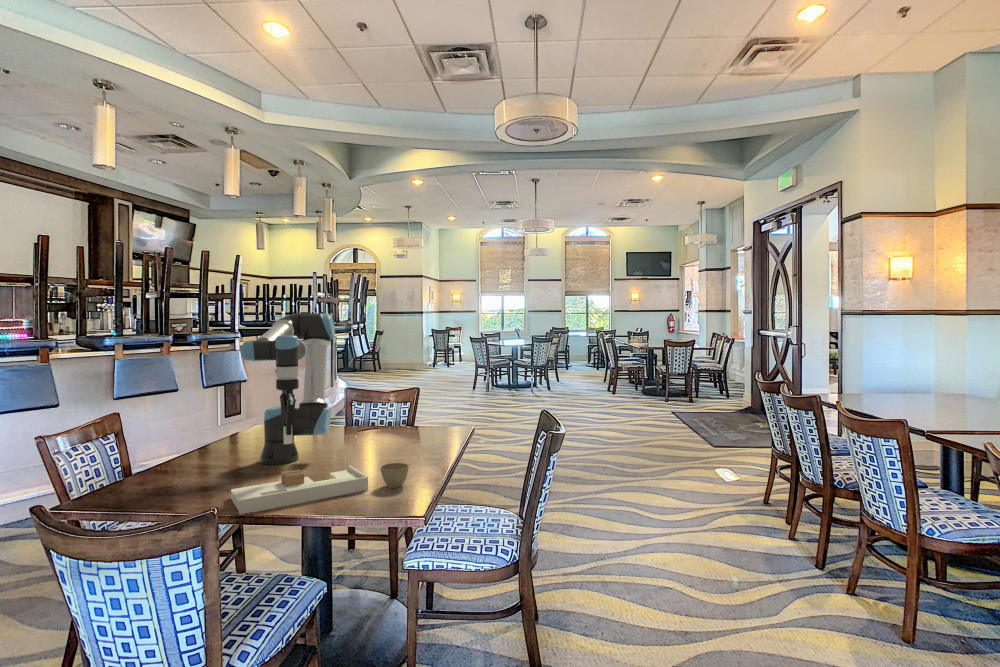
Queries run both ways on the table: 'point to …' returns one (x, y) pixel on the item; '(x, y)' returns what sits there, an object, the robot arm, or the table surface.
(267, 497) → the tray
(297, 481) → the block
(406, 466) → the flower pot
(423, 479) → the table surface
